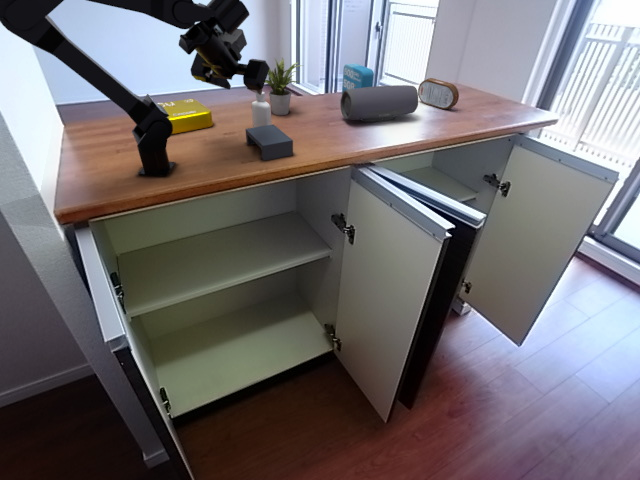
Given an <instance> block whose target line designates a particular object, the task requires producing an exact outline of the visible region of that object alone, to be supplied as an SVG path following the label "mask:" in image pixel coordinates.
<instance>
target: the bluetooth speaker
mask: <svg viewBox="0 0 640 480" xmlns="http://www.w3.org/2000/svg"><path fill="white" fill-rule="evenodd" d="M339 104H340V111H341V115H342V117H343V118H344V119H345V120H361V121H362V122H364V123H373V122H383V121H391V120H394V117H399V116H404V115H410V114H414V113H415V112H416V110H417V109H418V106H419V96H418V89H417V87H416V86H414V85H408V84H402V85H401V84H400V85H399V84H398V85H397V84H395V85H376V86H373V87H364V88H356V89H349V90H345V91H343V94H342V93H341V97H340V102H339Z"/></svg>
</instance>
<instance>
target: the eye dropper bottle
mask: <svg viewBox="0 0 640 480" xmlns="http://www.w3.org/2000/svg"><path fill="white" fill-rule="evenodd" d="M251 116H252V128H254V127H260V126H267V125H272V108H271V104H270V103H269V102H267V101H266V92H265V91H263V90H262V94H261V95H259V94H257V93H255V100H254V101H253V102H251Z"/></svg>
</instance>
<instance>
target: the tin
mask: <svg viewBox="0 0 640 480" xmlns="http://www.w3.org/2000/svg"><path fill="white" fill-rule="evenodd" d="M417 92H418V99H419V100H420V102H421V103H423V104H425V105H428V106H430V107H435V108H437V109H441V110H449V109H451V108H454V107H455V106H456V105H457V104H458V102H459V98H460V92H459V89H458V88H457V86H456V85H455V84H453V83H452V82H448V81H446V80H445V81H444V80H441V79H437V78H435V77H434V78H433V77H429V78H426V79H424V80H422V81H421V82H420V84H419V85H418V89H417Z"/></svg>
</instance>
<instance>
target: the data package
mask: <svg viewBox="0 0 640 480" xmlns="http://www.w3.org/2000/svg"><path fill="white" fill-rule="evenodd" d="M342 71H343V72H342V86H341V87H342V88H341V95H342V94H343V91H345V90H349V89H356V88H364V87H374V79H375V73H374V70H373V69H372V68H369V67H366V66H365V65H361V64H359V63H358V62H357V63H356V62H355V63H347V64H344V66H343V70H342Z"/></svg>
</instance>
